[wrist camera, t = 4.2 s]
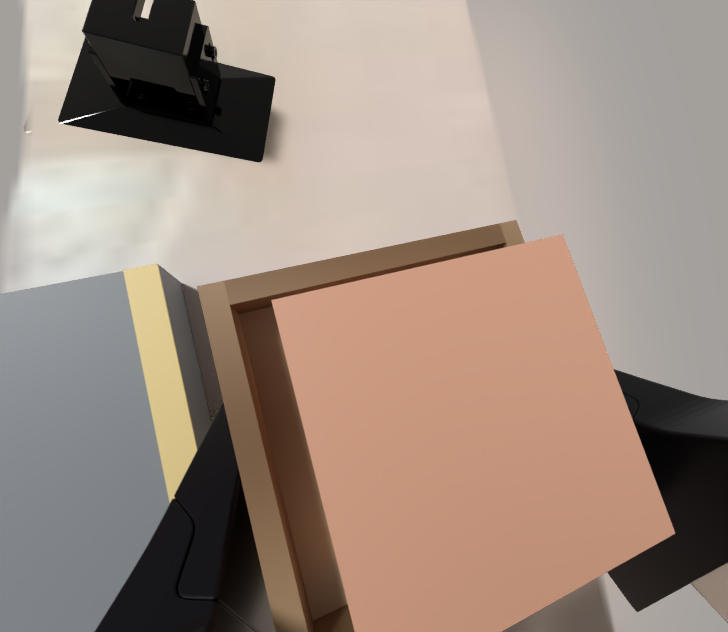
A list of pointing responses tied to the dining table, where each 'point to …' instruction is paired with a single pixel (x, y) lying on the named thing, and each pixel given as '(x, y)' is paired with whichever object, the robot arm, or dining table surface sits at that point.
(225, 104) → the black slotted stand
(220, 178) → the dining table surface
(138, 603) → the robot arm
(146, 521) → the dock
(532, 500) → the block
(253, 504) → the open wooden bin
